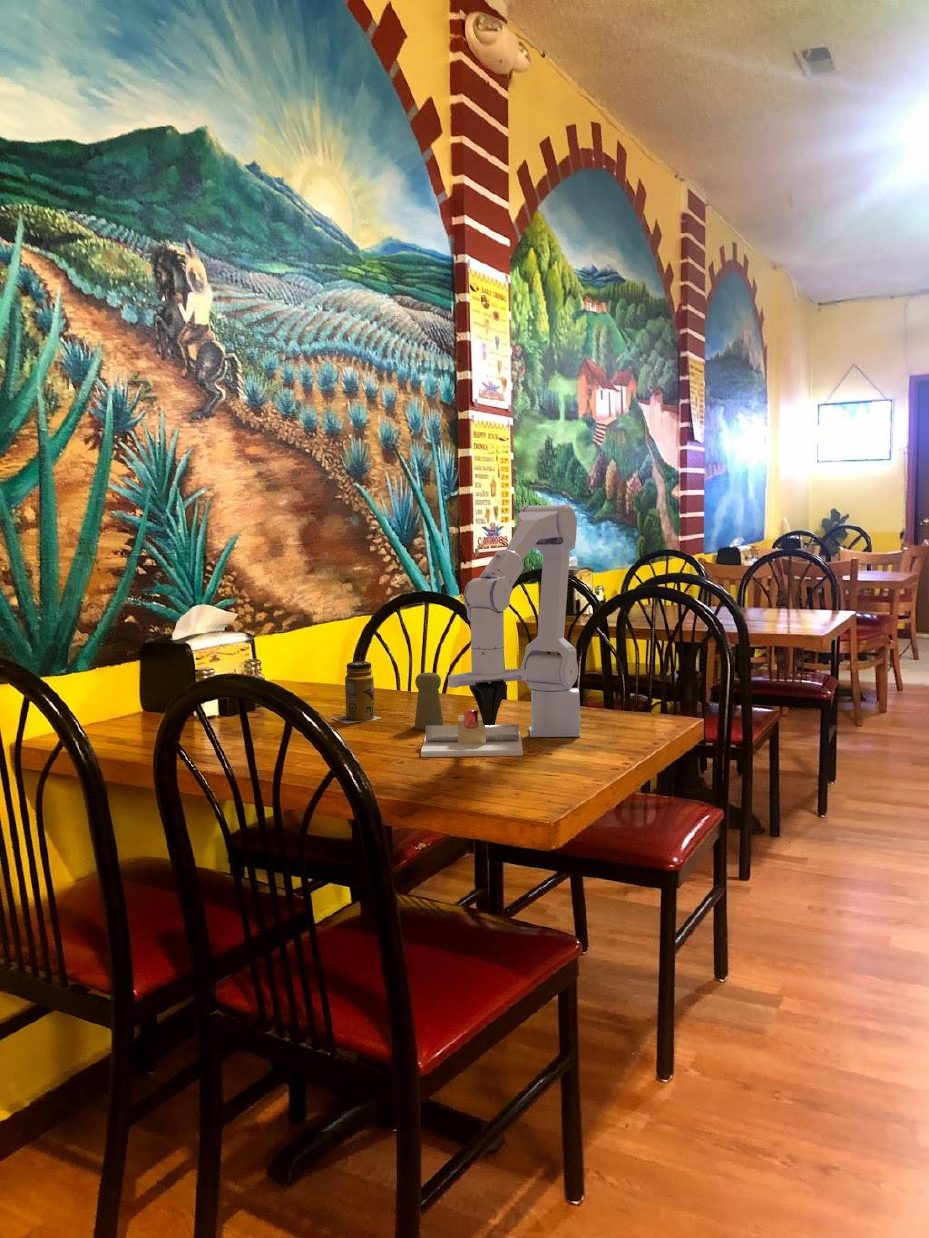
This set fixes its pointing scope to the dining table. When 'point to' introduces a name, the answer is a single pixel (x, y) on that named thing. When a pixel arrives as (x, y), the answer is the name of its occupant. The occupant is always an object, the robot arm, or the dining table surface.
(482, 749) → the valve board
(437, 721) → the olive tapered post
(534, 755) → the dining table surface
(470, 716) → the valve lever
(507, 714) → the dining table surface
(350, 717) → the condiment
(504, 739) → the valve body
